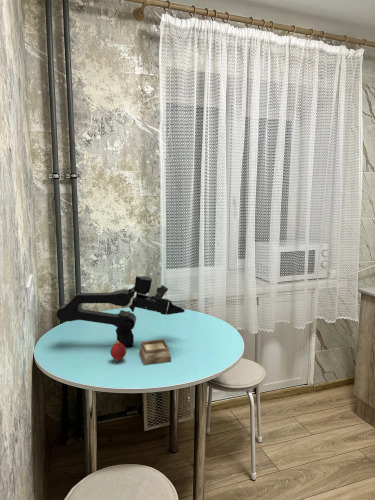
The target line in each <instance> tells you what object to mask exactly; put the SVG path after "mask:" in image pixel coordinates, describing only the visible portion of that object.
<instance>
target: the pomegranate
mask: <svg viewBox="0 0 375 500" xmlns="http://www.w3.org/2000/svg"><path fill="white" fill-rule="evenodd" d="M126 353H127V348H125V346H124V345H123V344H122V343H120V342H119V341H117V340H116V341H115V343H114V344H113V345H112V346H111V348H110V353H109V354H110V355H111V357H112V358H113V359H114V360H116V361H117V362H119V361H121V360H123V359H124V358H125V356H126Z"/></svg>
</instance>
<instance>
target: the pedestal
mask: <svg viewBox="0 0 375 500" xmlns="http://www.w3.org/2000/svg"><path fill="white" fill-rule="evenodd" d="M138 352H139V356H140V358H141V361H142V364H143V366H144V365H154V364H155V365H156V364H163V363H169V362H170V363H171V362H172V356H171V355H170V348H169V346H168V344H167V343H166V341H165V339H164V338H163V339H154V340H145V341H140V348H139V351H138Z"/></svg>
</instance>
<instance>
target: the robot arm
mask: <svg viewBox="0 0 375 500" xmlns="http://www.w3.org/2000/svg"><path fill="white" fill-rule="evenodd" d="M134 280H135V281H134V286H133V287H131V288H130V289H119V290H115V291H111V292H77V293H76V295H75V296H73V298H72V299H71V300H70V302H68V303H67V302H66V303H64V304H63V305H62V306H60V307H59V309H58V310H56V317H57V319H58V321H60V322H75V321H84V322H92V323H99V324H105V325H113V326H114V327H115V328H116V329H115V333H116V334H115V335H116V341H119V342H120V343H122V344H123V345H124V346H125V348H126V349H129V348H133V347H134V338H135V337H134V335H135V334H134V333H133V329H134V328H135V325H136V322H137V315H136V314H135V313H134V312H135V309H136V308H137V309H140V310H141V309H142V310H146V311H151V312H156V313H159V314H161V315H164V316H168V315H175V314H176V315H177V314H181V313H182V314H183V313H185V311H186V309H184V308H182V307H180V306H178V305H174V303H173V302H172V300H171V299H167V298H163V297H164V296H165V294H166V292H168V290H169V288H168V287H166V286H165V285H163V284H162V285H160V287H157V289H156V294H155V295H152V296H151V295H147V294H149V293H150V291H151V288H152V287H151V286H152V282H153V278H152V277H150V276H145V275H143V276H141V275H140V276H138V275H137V276H135V279H134ZM134 296H135V297H134ZM130 302H131V304H130ZM81 304H109V305H110V304H111V305H114V306H118V307H127V306H128V305H129V306H128V307H129V309H130V310H129V311H126V310H123V309H122V310H120V311H119V312H118V313H111V312H104V311H96V310H90V309H83V308H80V307H79V306H80V305H81Z"/></svg>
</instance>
